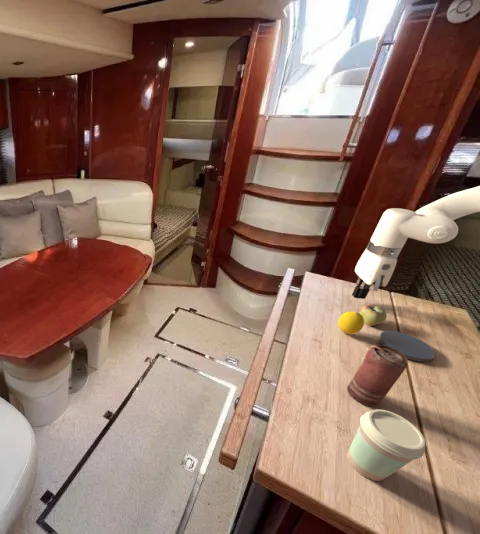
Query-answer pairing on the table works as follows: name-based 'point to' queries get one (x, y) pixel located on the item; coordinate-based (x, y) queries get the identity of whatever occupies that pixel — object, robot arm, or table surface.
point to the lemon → (350, 322)
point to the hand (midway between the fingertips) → (358, 297)
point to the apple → (373, 314)
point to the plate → (407, 345)
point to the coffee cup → (384, 444)
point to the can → (377, 375)
